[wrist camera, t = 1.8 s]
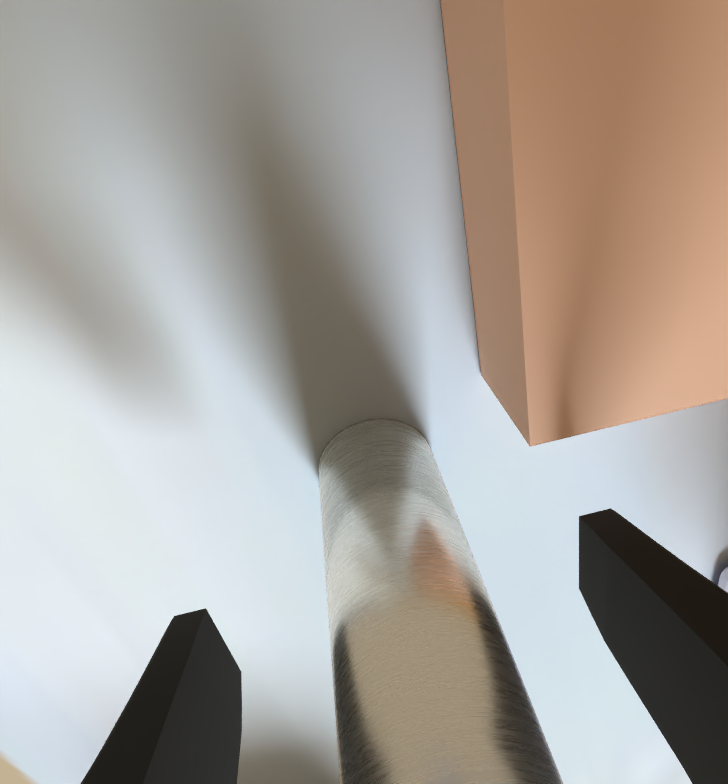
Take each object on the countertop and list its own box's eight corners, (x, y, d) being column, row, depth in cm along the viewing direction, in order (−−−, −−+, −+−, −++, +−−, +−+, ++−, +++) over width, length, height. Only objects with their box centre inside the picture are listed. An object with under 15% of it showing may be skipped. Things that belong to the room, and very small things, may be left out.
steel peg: (439, 497, 14) (576, 866, 8) (333, 523, 14) (371, 916, 8) (423, 406, 13) (575, 762, 6) (304, 435, 13) (320, 825, 6)
